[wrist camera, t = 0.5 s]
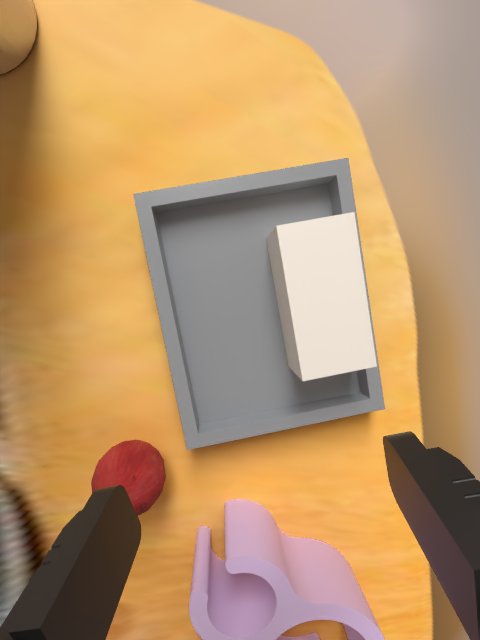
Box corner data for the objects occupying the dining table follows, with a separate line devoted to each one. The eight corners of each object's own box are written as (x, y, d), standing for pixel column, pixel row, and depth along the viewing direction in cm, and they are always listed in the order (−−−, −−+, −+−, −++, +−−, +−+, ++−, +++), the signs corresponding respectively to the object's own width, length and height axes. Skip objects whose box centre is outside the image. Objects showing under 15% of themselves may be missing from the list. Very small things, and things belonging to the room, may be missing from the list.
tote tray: (142, 205, 28) (133, 194, 25) (334, 172, 28) (348, 157, 25) (190, 434, 30) (187, 450, 27) (368, 397, 30) (384, 408, 27)
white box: (266, 238, 28) (276, 225, 23) (330, 226, 28) (354, 211, 23) (288, 366, 29) (302, 381, 24) (350, 354, 29) (376, 366, 24)
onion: (182, 466, 30) (168, 528, 22) (129, 493, 30) (95, 565, 22) (154, 415, 29) (128, 460, 21) (99, 442, 29) (54, 498, 21)
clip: (167, 555, 31) (152, 630, 24) (257, 470, 31) (268, 521, 24) (300, 675, 33) (321, 776, 26) (385, 596, 33) (428, 676, 26)
